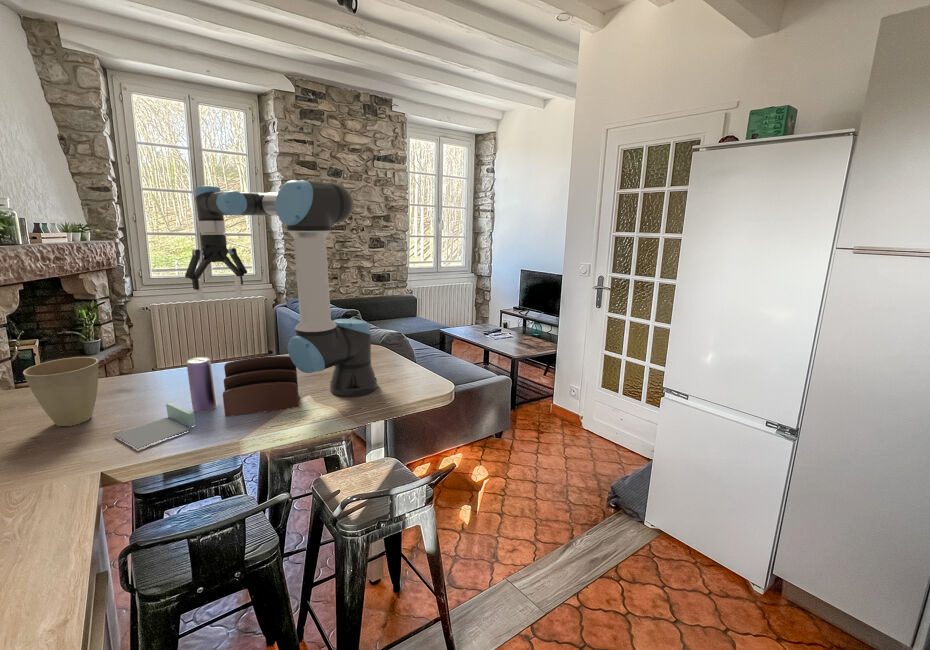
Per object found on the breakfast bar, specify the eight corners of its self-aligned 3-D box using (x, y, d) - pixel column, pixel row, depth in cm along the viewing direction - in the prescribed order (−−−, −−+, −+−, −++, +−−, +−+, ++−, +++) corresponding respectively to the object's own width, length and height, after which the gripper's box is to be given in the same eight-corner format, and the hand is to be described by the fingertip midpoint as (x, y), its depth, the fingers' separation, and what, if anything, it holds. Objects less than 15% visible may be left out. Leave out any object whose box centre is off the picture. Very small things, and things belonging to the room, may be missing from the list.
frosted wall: (195, 426, 121) (193, 412, 120) (191, 427, 120) (189, 414, 119) (172, 415, 127) (170, 402, 126) (167, 416, 126) (165, 403, 125)
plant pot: (100, 404, 133) (90, 353, 129) (114, 419, 124) (104, 365, 120) (31, 422, 122) (18, 366, 118) (42, 439, 113) (28, 380, 109)
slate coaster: (189, 431, 118) (189, 429, 118) (137, 451, 108) (137, 448, 108) (166, 420, 124) (165, 417, 124) (115, 437, 114) (114, 435, 114)
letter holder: (228, 403, 136) (223, 359, 132) (298, 395, 143) (295, 353, 139) (224, 417, 127) (219, 370, 123) (299, 408, 134) (296, 363, 130)
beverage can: (206, 413, 128) (200, 364, 125) (188, 412, 129) (181, 362, 126) (220, 405, 134) (215, 357, 131) (202, 403, 135) (196, 356, 131)
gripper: (241, 233, 164) (247, 291, 168) (167, 234, 143) (176, 300, 147) (253, 233, 160) (259, 293, 164) (179, 234, 139) (188, 302, 143)
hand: (220, 296), depth 156 cm, fingers open, 13 cm apart
